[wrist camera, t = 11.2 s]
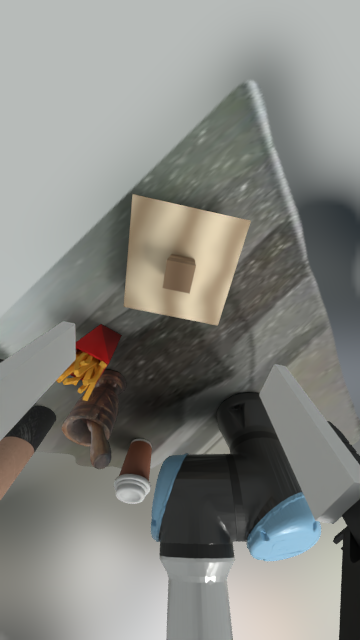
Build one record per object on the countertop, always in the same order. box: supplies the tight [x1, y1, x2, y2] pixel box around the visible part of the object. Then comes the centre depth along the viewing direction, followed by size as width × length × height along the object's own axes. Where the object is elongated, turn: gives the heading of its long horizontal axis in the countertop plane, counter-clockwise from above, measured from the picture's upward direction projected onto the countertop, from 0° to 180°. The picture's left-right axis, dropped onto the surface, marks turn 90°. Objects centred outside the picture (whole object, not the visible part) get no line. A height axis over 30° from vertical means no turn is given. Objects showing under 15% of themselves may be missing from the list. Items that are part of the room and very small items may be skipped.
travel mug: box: [0, 406, 56, 500], centre depth 43 cm, size 8×8×20 cm
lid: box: [124, 194, 251, 325], centre depth 25 cm, size 15×15×8 cm
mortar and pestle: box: [62, 370, 126, 469], centre depth 37 cm, size 12×9×20 cm
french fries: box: [56, 324, 122, 401], centre depth 34 cm, size 9×8×15 cm
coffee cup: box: [114, 439, 152, 504], centre depth 51 cm, size 9×9×12 cm
